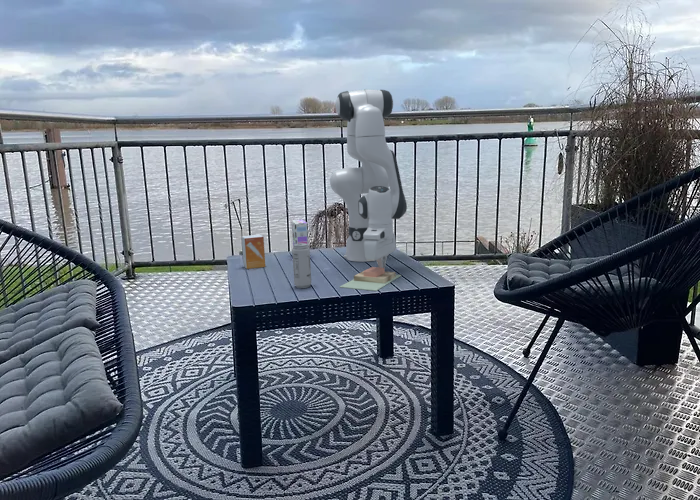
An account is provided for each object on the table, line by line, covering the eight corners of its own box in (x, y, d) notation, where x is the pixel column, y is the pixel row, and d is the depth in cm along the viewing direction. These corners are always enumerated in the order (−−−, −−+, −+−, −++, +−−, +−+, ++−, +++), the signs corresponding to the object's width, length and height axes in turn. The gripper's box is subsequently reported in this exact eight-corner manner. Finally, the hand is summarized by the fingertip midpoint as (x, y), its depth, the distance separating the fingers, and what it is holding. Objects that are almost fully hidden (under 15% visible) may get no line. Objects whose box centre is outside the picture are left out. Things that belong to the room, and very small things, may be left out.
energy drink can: (312, 287, 180) (309, 245, 178) (294, 289, 180) (292, 246, 177) (310, 283, 186) (308, 242, 183) (294, 284, 185) (291, 243, 183)
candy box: (310, 260, 226) (307, 222, 223) (296, 261, 225) (294, 223, 222) (305, 254, 239) (303, 218, 236) (293, 255, 238) (290, 219, 235)
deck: (366, 274, 195) (366, 269, 195) (395, 277, 190) (395, 272, 189) (354, 281, 187) (353, 276, 186) (384, 284, 181) (384, 278, 181)
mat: (367, 272, 198) (367, 272, 198) (401, 275, 192) (401, 275, 192) (339, 287, 179) (339, 286, 179) (376, 291, 173) (376, 290, 173)
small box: (246, 269, 213) (244, 238, 211) (243, 266, 219) (241, 236, 216) (266, 267, 216) (263, 236, 214) (262, 264, 222) (260, 234, 219)
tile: (372, 271, 192) (372, 266, 191) (384, 272, 189) (384, 267, 189) (363, 276, 186) (363, 271, 185) (376, 277, 183) (376, 272, 183)
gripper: (384, 226, 201) (385, 261, 203) (360, 235, 183) (362, 273, 186) (399, 227, 198) (400, 262, 200) (377, 235, 180) (378, 274, 183)
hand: (381, 267), depth 193 cm, fingers closed
